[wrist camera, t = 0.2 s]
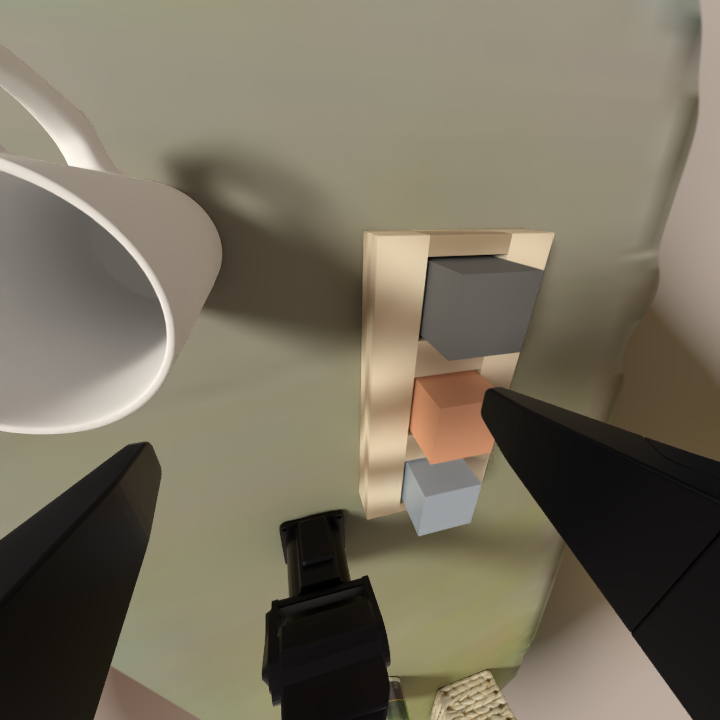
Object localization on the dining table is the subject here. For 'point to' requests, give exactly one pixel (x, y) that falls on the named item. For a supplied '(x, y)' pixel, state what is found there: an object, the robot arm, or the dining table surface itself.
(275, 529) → the dining table surface
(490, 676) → the storage basket
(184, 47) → the dining table surface
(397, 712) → the coffee can
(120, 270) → the mug
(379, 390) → the birch panel
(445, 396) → the orange cube
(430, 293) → the dark grey cube
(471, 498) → the blue-grey cube
